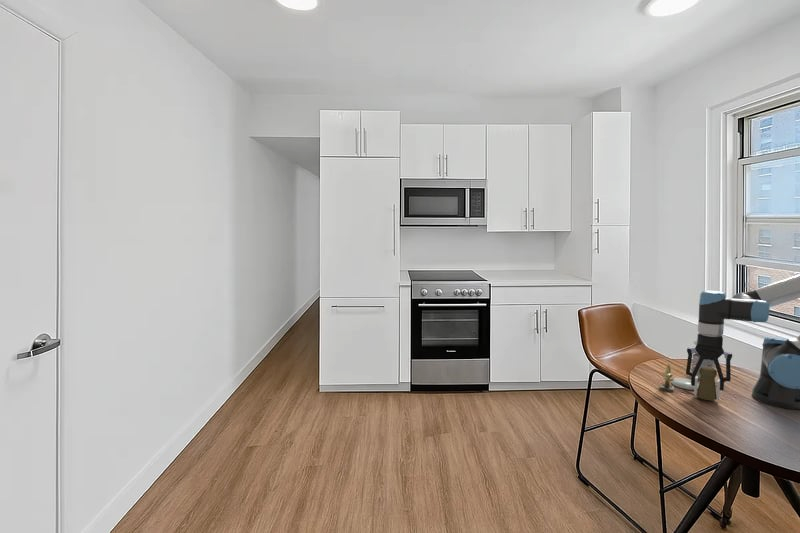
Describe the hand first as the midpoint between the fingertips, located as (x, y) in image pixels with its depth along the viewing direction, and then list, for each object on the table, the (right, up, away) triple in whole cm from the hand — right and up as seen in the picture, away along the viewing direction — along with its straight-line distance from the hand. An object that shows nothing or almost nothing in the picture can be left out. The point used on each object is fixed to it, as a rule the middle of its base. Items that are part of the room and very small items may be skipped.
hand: (706, 396), depth 163 cm
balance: (-9, 0, +10) cm, 13 cm away
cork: (0, -1, 0) cm, 0 cm away
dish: (+1, 0, +14) cm, 14 cm away
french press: (+16, +1, +25) cm, 30 cm away
